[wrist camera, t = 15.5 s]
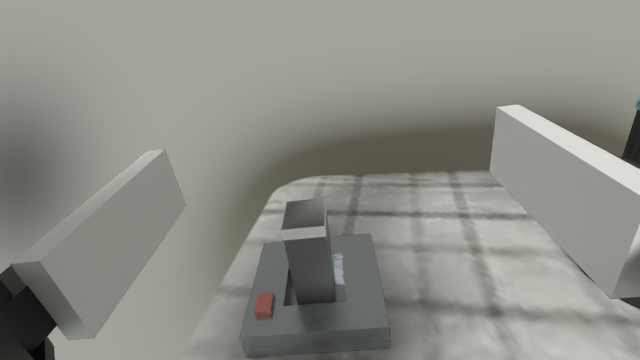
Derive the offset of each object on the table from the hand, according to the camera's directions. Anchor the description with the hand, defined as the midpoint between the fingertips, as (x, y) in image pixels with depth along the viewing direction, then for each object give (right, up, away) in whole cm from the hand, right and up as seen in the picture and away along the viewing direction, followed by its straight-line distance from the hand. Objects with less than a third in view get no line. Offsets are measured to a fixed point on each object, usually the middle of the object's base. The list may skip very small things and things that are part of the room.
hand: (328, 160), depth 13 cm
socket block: (0, -14, +25) cm, 28 cm away
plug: (-1, -14, +24) cm, 28 cm away
